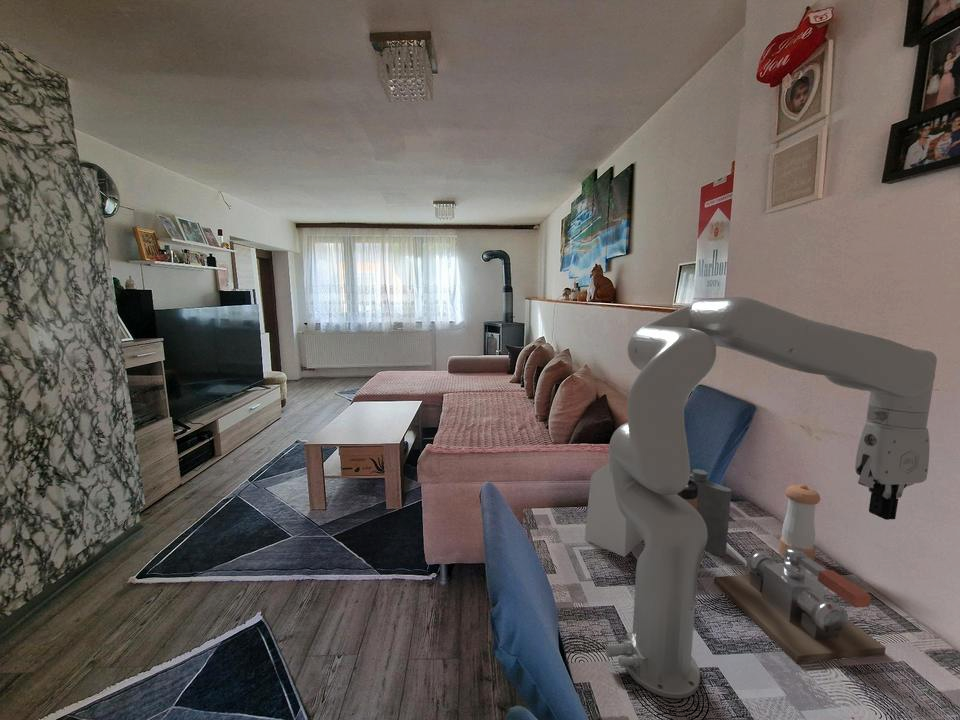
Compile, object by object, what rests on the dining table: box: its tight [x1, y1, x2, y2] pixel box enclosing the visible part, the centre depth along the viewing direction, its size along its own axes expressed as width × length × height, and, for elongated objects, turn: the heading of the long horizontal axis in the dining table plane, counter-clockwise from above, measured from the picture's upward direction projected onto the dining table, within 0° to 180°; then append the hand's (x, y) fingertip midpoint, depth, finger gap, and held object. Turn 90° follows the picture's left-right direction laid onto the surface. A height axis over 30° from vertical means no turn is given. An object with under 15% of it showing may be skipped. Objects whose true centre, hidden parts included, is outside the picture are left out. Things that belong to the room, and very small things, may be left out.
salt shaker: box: [778, 483, 821, 562], centre depth 105 cm, size 7×7×19 cm
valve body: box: [746, 549, 849, 640], centre depth 85 cm, size 7×18×10 cm, turn 7°
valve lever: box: [785, 547, 872, 608], centre depth 78 cm, size 15×3×2 cm, turn 5°
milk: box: [584, 460, 644, 558], centre depth 112 cm, size 12×12×26 cm
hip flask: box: [689, 468, 732, 557], centre depth 112 cm, size 16×4×20 cm, turn 28°
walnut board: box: [713, 573, 886, 664], centre depth 85 cm, size 18×22×2 cm
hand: (881, 515), depth 75 cm, fingers closed
